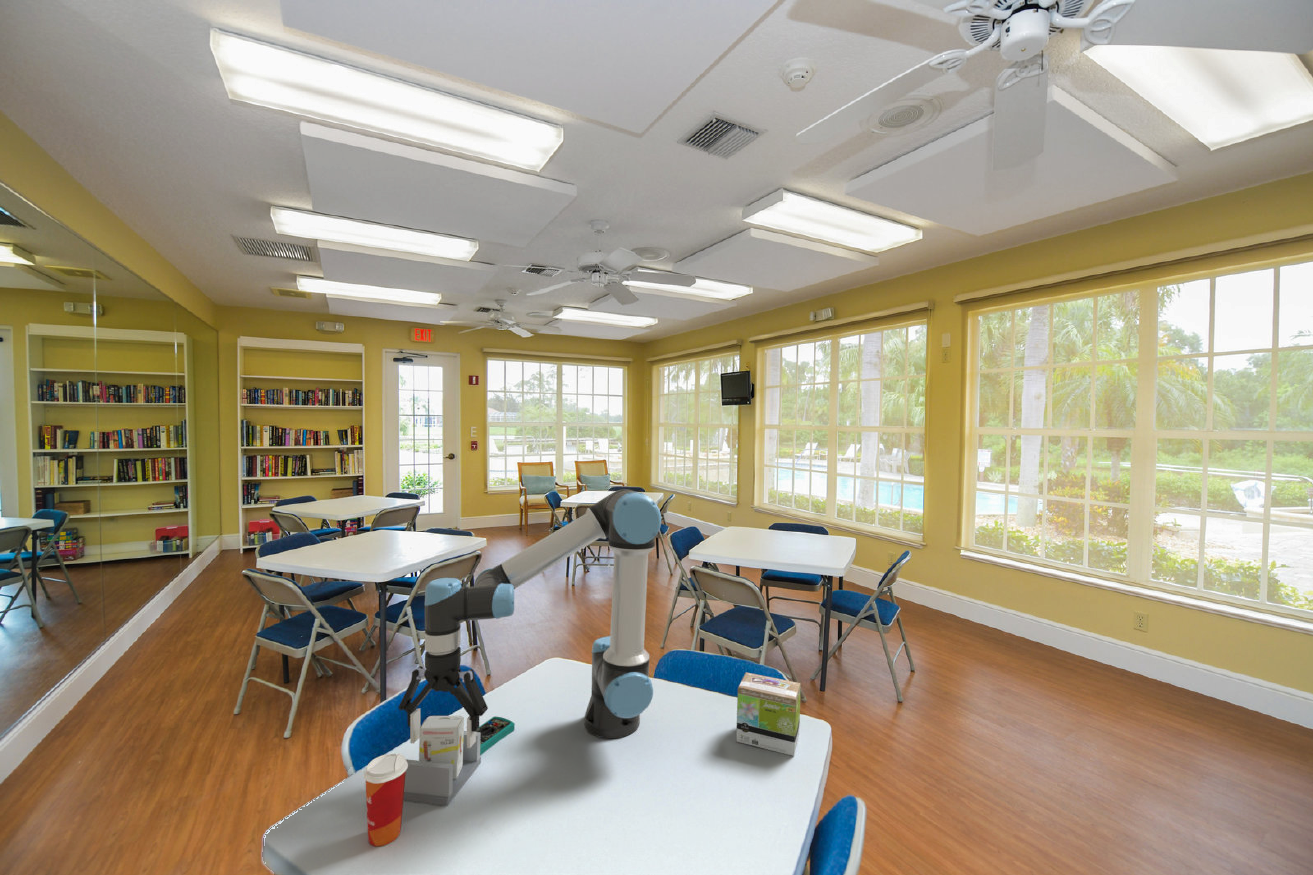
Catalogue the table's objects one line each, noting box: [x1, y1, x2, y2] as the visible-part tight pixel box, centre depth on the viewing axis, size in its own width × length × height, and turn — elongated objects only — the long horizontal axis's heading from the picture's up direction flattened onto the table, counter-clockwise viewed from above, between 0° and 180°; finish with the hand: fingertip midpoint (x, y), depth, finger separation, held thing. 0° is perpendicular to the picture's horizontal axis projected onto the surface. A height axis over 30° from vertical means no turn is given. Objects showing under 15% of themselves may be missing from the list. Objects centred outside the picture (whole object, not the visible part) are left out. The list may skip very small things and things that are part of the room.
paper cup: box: [363, 753, 408, 847], centre depth 102 cm, size 8×8×14 cm
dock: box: [403, 730, 482, 807], centre depth 118 cm, size 12×15×8 cm
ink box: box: [418, 715, 465, 779], centre depth 118 cm, size 9×5×12 cm, turn 94°
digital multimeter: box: [476, 715, 515, 757], centre depth 135 cm, size 7×15×3 cm, turn 156°
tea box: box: [736, 672, 802, 757], centre depth 137 cm, size 15×10×15 cm, turn 68°
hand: (443, 742), depth 119 cm, fingers open, 13 cm apart
